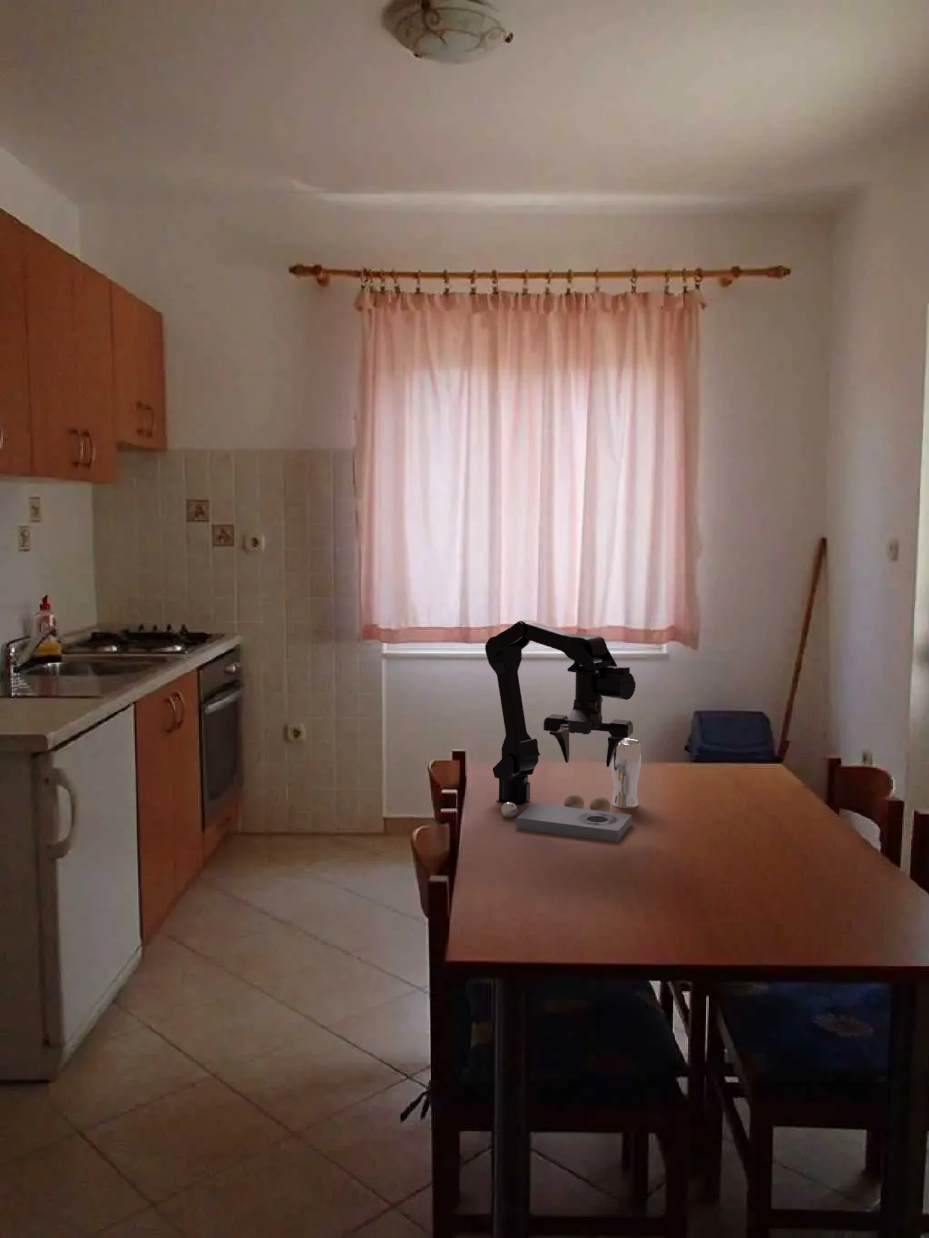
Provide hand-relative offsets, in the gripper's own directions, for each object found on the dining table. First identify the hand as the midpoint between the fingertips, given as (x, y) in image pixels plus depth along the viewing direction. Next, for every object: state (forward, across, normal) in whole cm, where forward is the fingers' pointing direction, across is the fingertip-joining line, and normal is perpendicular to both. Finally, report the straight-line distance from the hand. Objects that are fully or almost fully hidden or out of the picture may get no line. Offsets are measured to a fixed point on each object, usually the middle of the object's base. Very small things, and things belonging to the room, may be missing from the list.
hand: (587, 764), depth 204 cm
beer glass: (+13, +5, +15) cm, 20 cm away
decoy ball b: (+10, +2, +4) cm, 11 cm away
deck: (+12, -1, -6) cm, 14 cm away
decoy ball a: (+10, -4, +4) cm, 12 cm away
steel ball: (+11, -16, -5) cm, 20 cm away
